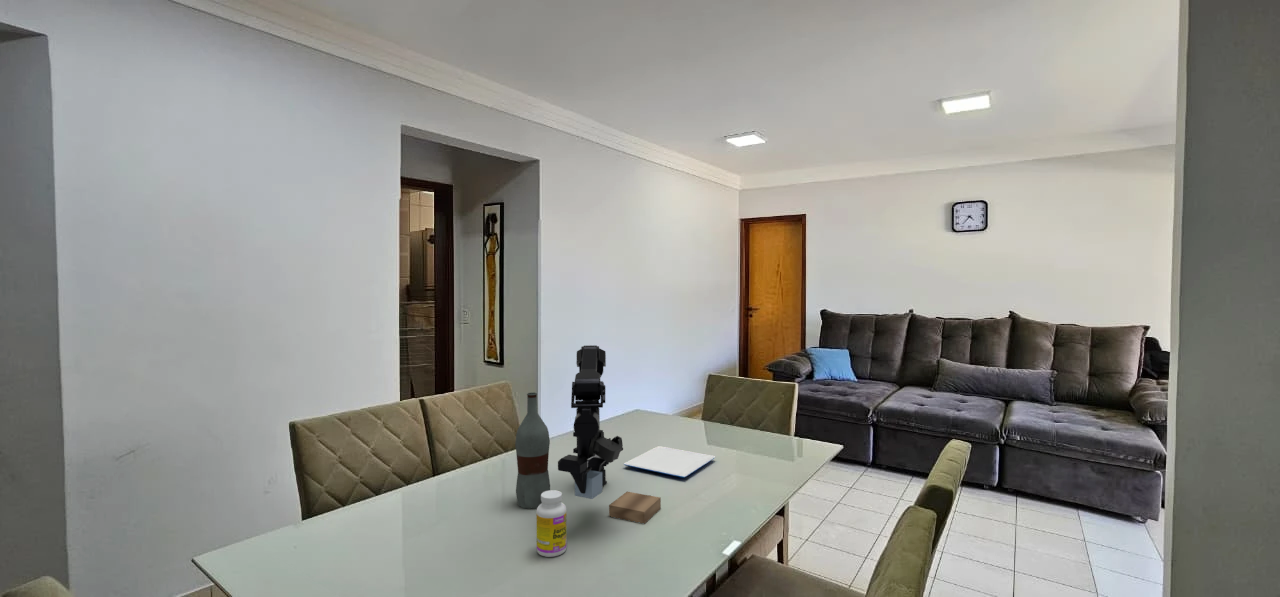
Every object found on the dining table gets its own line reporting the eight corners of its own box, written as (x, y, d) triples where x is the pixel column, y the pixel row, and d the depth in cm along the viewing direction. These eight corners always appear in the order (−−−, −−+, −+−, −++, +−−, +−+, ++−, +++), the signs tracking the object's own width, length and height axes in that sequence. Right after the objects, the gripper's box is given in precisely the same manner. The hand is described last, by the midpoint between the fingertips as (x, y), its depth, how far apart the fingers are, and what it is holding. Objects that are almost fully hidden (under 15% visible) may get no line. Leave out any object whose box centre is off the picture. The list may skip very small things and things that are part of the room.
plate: (716, 461, 183) (716, 455, 183) (684, 482, 164) (684, 476, 164) (658, 451, 195) (658, 445, 195) (622, 469, 176) (622, 463, 176)
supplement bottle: (553, 561, 118) (552, 502, 118) (530, 553, 122) (529, 496, 121) (572, 548, 124) (572, 492, 123) (550, 541, 127) (549, 486, 127)
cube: (574, 495, 136) (574, 475, 135) (585, 488, 140) (585, 469, 140) (592, 499, 133) (592, 478, 133) (602, 491, 138) (602, 472, 138)
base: (609, 516, 140) (609, 505, 140) (627, 502, 149) (626, 491, 149) (644, 523, 136) (644, 511, 136) (660, 508, 145) (660, 497, 145)
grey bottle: (534, 493, 156) (532, 388, 155) (557, 500, 151) (556, 392, 150) (508, 504, 148) (507, 394, 147) (532, 512, 143) (531, 398, 142)
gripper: (597, 441, 124) (597, 509, 125) (633, 422, 141) (634, 482, 142) (556, 435, 129) (556, 501, 130) (596, 417, 146) (596, 475, 146)
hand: (588, 489), depth 137 cm, fingers closed on cube, 5 cm apart
